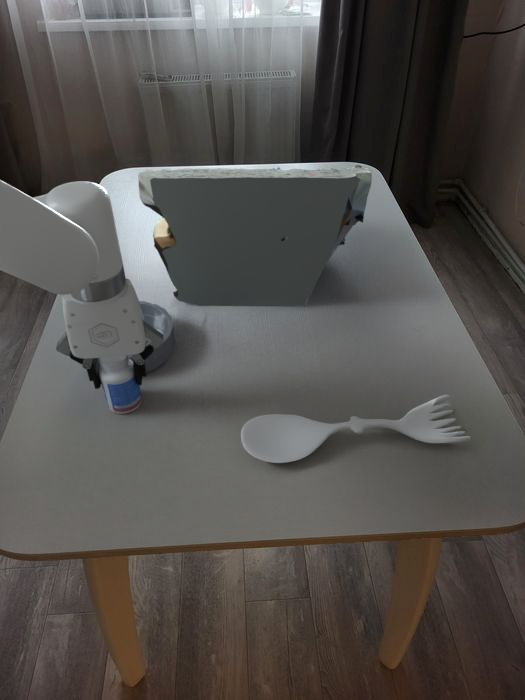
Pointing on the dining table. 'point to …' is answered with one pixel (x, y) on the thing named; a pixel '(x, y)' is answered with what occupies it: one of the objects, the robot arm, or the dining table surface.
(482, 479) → the dining table surface
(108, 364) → the pill bottle
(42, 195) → the robot arm
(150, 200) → the basket
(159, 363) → the pan
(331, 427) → the spoon
